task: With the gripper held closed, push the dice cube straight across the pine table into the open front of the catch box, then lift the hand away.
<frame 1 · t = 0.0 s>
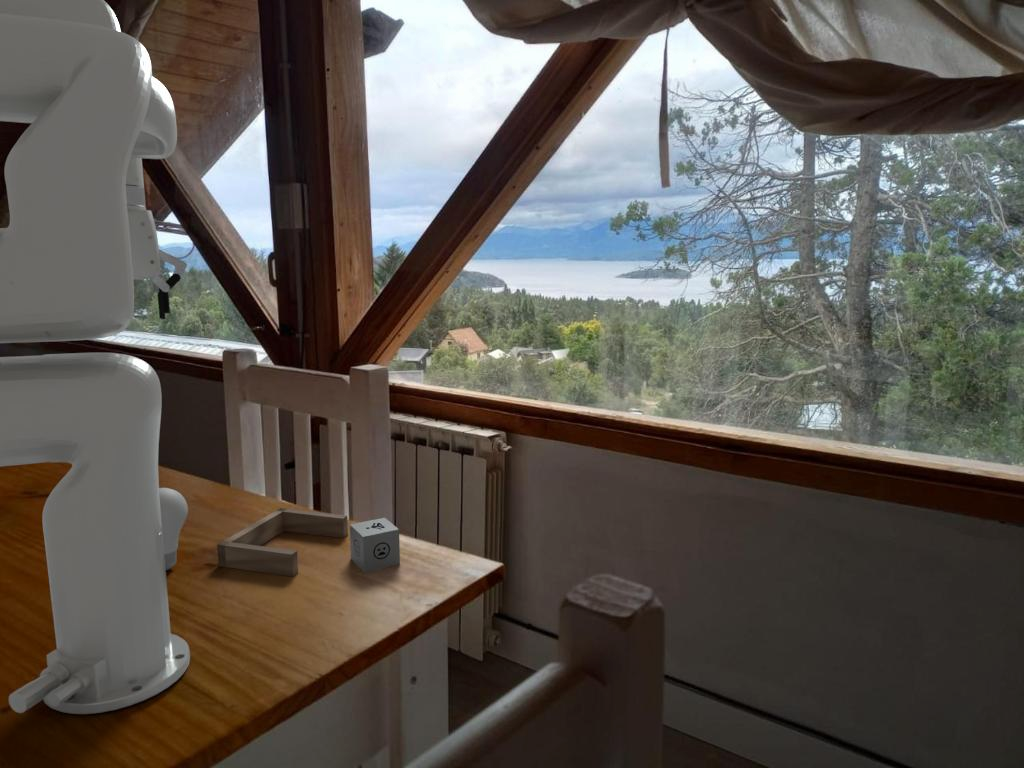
hand: (126, 319, 103), 31 cm above the table, tool pointing down, fingers open, 9 cm apart
lightbulb: (166, 570, 92), on the table
dice cube: (375, 563, 95), on the table
catch box: (290, 550, 98), on the table
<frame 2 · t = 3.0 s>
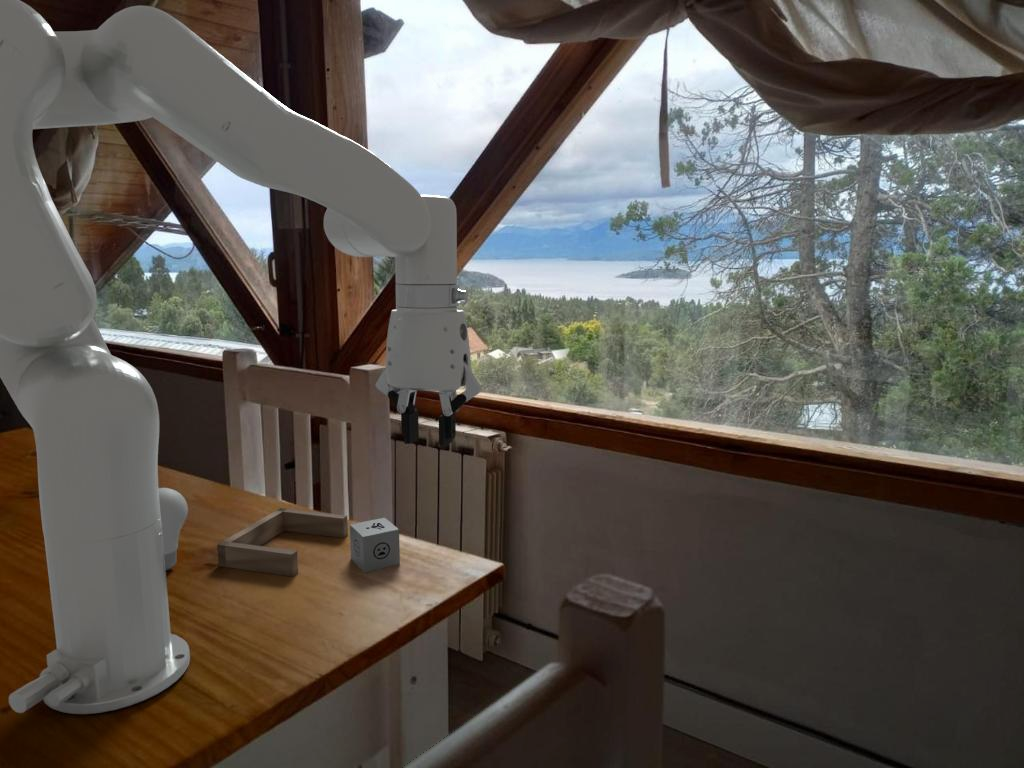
hand: (428, 441, 89), 17 cm above the table, tool pointing down, fingers open, 4 cm apart
nothing on the table moved.
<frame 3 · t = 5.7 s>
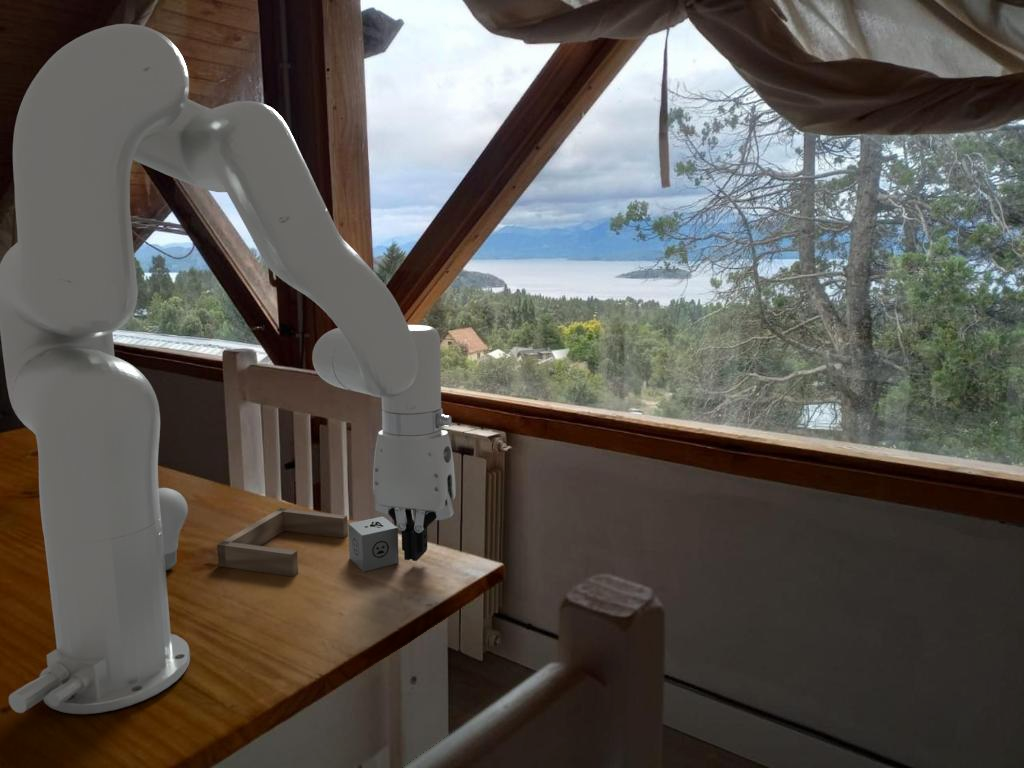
hand: (414, 556, 93), 1 cm above the table, tool pointing down, fingers closed
dice cube: (374, 562, 95), on the table, touching gripper
everything else where it was.
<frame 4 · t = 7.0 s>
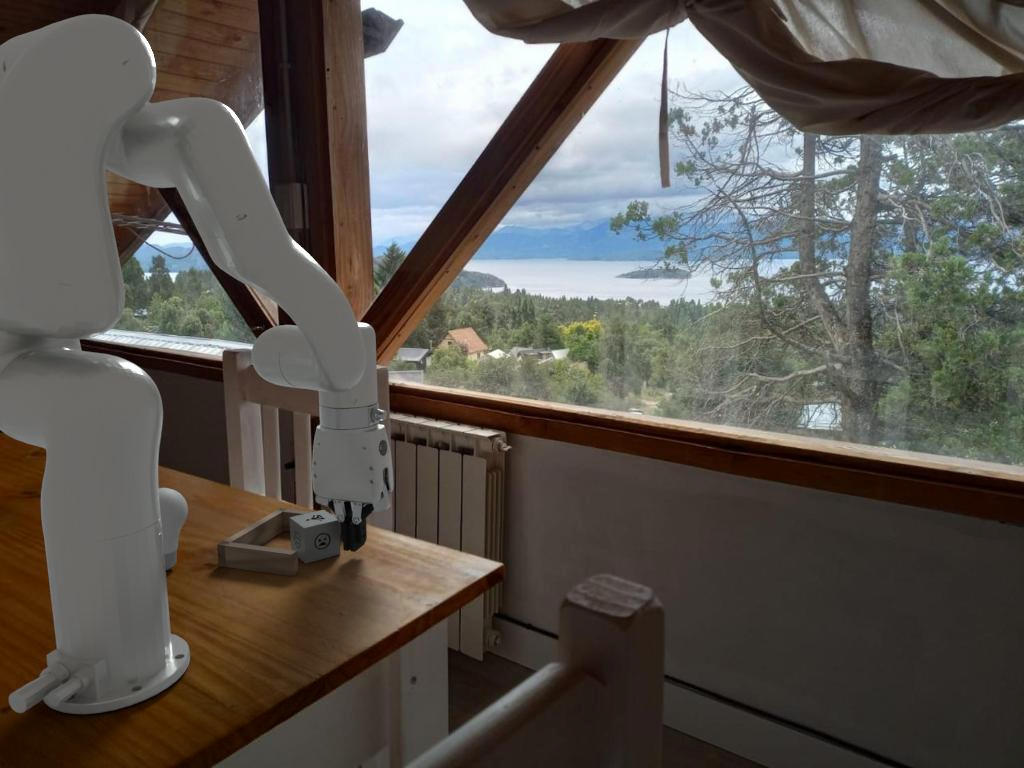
hand: (354, 547, 95), 1 cm above the table, tool pointing down, fingers closed
dice cube: (315, 554, 97), on the table, touching gripper
everything else where it was.
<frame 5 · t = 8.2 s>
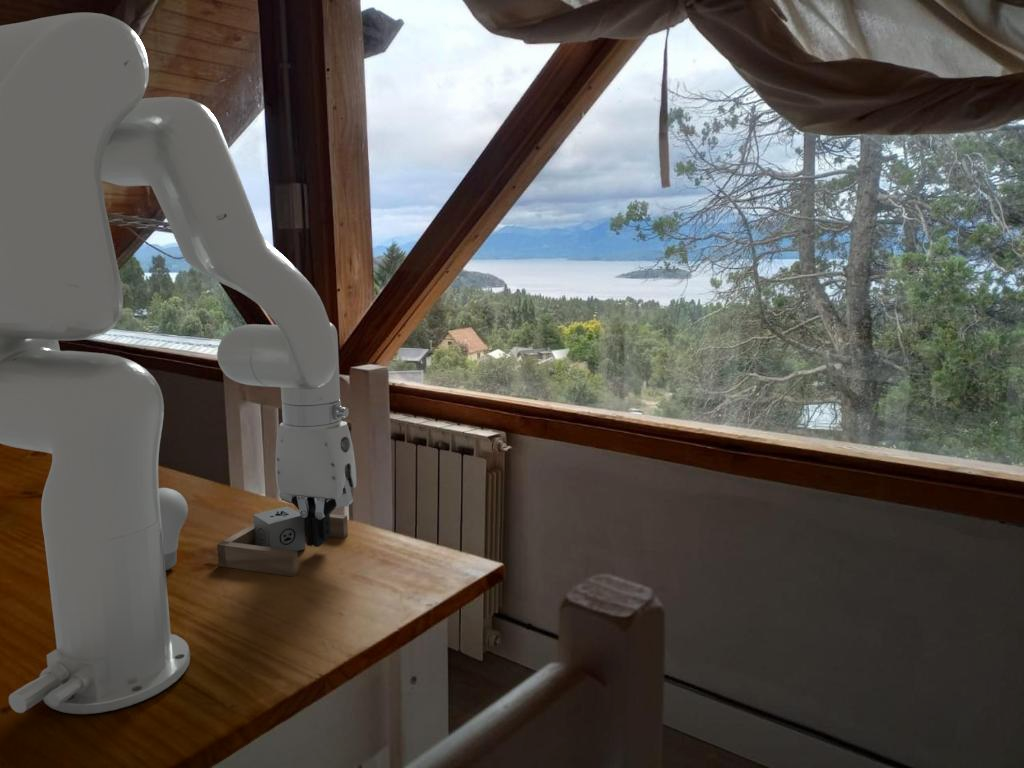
hand: (318, 542, 97), 2 cm above the table, tool pointing down, fingers closed
dice cube: (280, 550, 98), on the table, touching catch box, gripper
everything else where it was.
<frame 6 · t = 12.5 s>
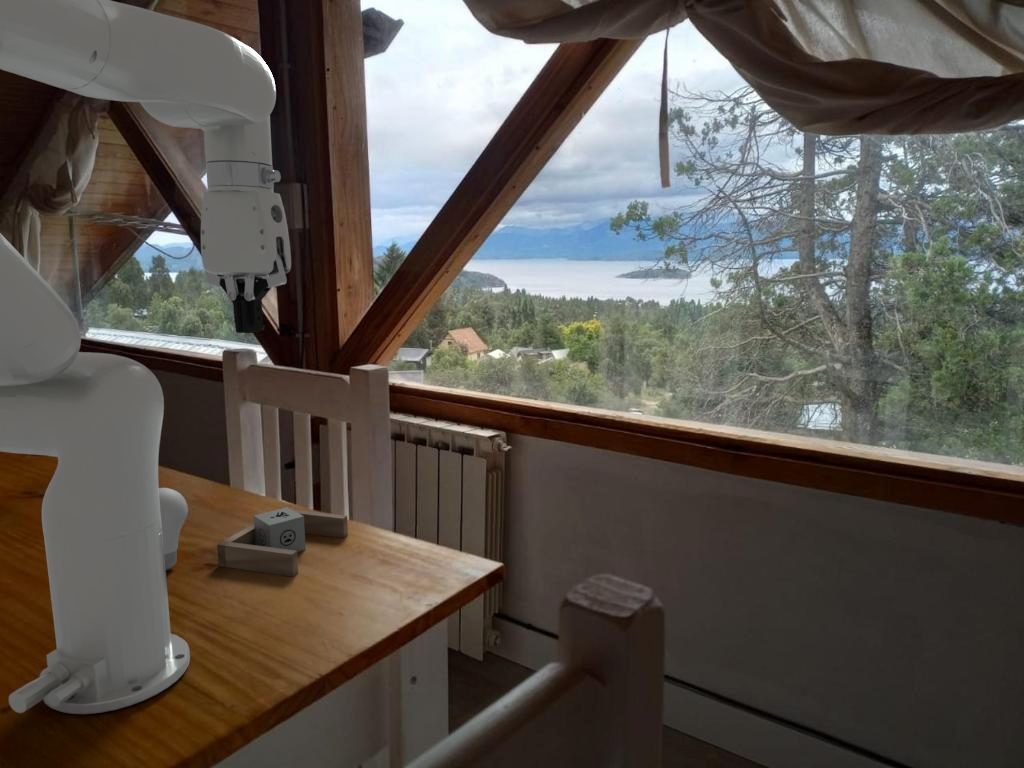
hand: (249, 331, 88), 31 cm above the table, tool pointing down, fingers closed
dice cube: (280, 551, 98), on the table
everything else where it was.
at the end: dice cube inside the target area on the catch box (1.1 cm from its centre), point 0.0 cm above the catch box's base; dice cube moved 14.6 cm from its start; the gripper is holding nothing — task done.
